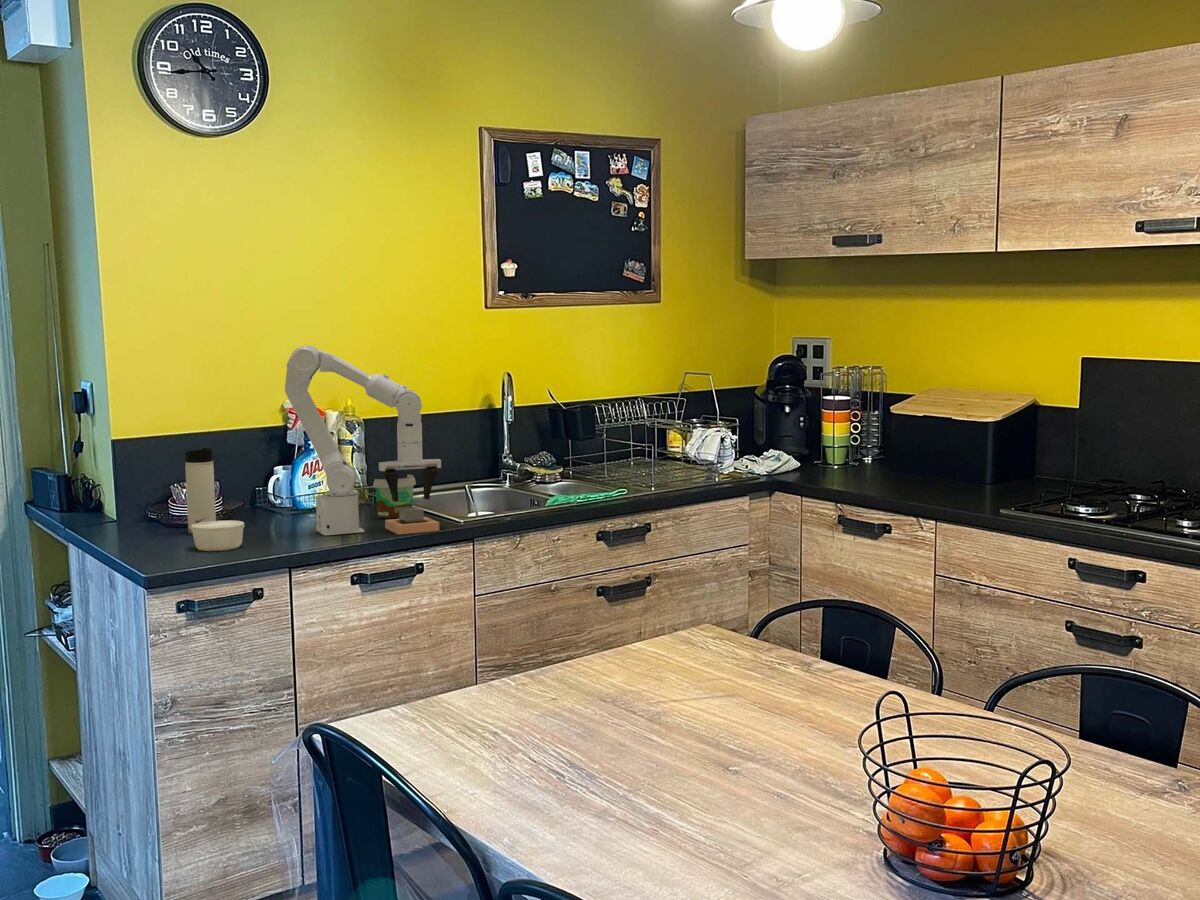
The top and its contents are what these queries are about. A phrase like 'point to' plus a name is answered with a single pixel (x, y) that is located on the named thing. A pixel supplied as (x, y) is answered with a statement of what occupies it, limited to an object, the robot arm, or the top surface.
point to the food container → (385, 498)
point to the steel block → (411, 515)
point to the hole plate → (412, 526)
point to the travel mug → (200, 486)
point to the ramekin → (218, 535)
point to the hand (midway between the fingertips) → (411, 500)
